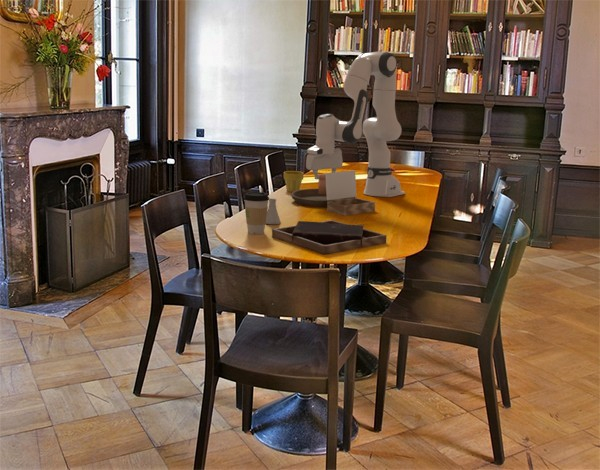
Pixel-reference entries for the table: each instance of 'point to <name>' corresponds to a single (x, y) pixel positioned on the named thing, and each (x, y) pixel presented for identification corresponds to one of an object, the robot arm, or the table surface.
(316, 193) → the plant saucer
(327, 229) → the diary
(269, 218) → the flask
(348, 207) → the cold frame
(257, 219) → the coffee cup
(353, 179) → the upright grey panel
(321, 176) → the pot
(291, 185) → the plant pot
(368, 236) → the desk tray
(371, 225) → the table surface
